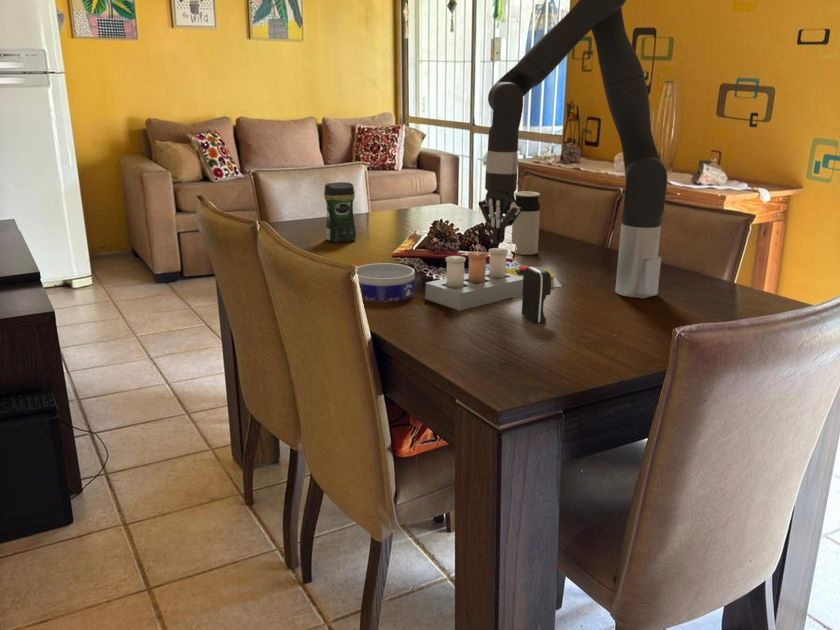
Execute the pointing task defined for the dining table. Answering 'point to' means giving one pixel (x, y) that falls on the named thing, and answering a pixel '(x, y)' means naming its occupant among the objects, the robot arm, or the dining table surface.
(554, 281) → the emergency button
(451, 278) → the ivory plug
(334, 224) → the coffee jar
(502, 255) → the ivory plug
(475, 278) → the terracotta plug
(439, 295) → the board
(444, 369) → the dining table surface
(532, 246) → the travel mug
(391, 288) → the dog bowl
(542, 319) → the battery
